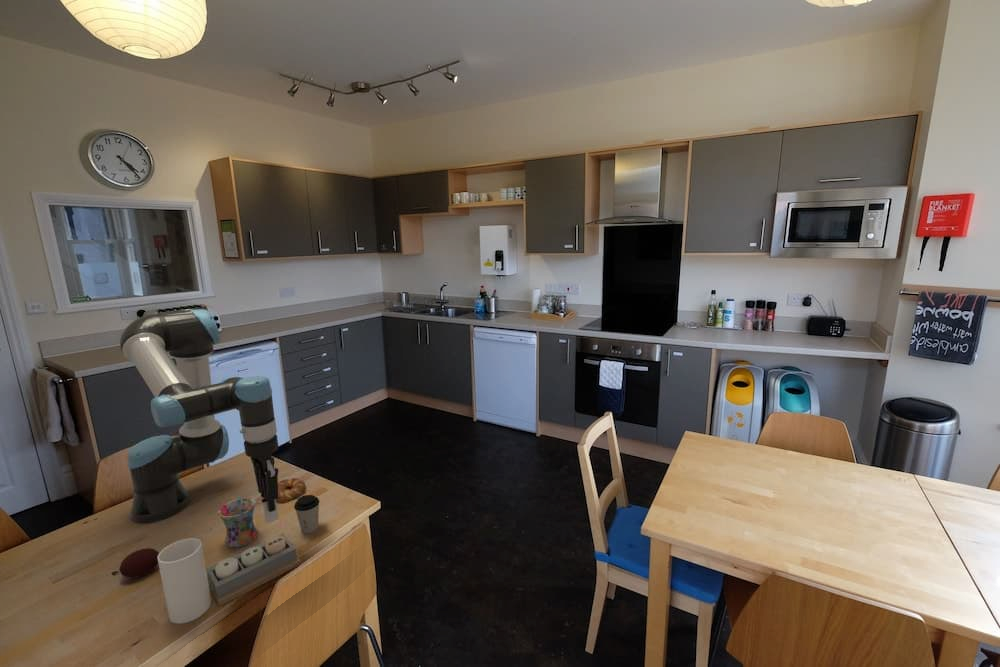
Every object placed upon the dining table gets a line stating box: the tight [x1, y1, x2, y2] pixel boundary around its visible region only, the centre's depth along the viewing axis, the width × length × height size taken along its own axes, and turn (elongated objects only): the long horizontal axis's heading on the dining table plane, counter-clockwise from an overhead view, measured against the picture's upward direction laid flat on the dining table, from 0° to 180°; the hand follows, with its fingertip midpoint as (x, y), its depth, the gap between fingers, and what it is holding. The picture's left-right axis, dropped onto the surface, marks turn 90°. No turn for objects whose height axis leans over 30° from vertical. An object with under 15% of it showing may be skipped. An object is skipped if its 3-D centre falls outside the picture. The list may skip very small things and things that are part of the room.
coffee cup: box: [293, 494, 320, 535], centre depth 132 cm, size 7×7×10 cm
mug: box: [217, 497, 259, 548], centre depth 129 cm, size 12×9×11 cm
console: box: [206, 533, 301, 607], centre depth 116 cm, size 12×19×4 cm, turn 136°
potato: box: [119, 547, 160, 579], centre depth 116 cm, size 7×8×6 cm
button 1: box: [215, 557, 239, 581], centre depth 111 cm, size 5×5×3 cm
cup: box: [158, 537, 212, 625], centre depth 103 cm, size 8×8×16 cm
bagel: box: [276, 477, 306, 504], centre depth 152 cm, size 12×11×4 cm
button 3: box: [265, 535, 286, 557], centre depth 119 cm, size 5×5×3 cm
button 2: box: [241, 546, 263, 569], centre depth 115 cm, size 5×5×3 cm
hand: (271, 520), depth 117 cm, fingers closed
